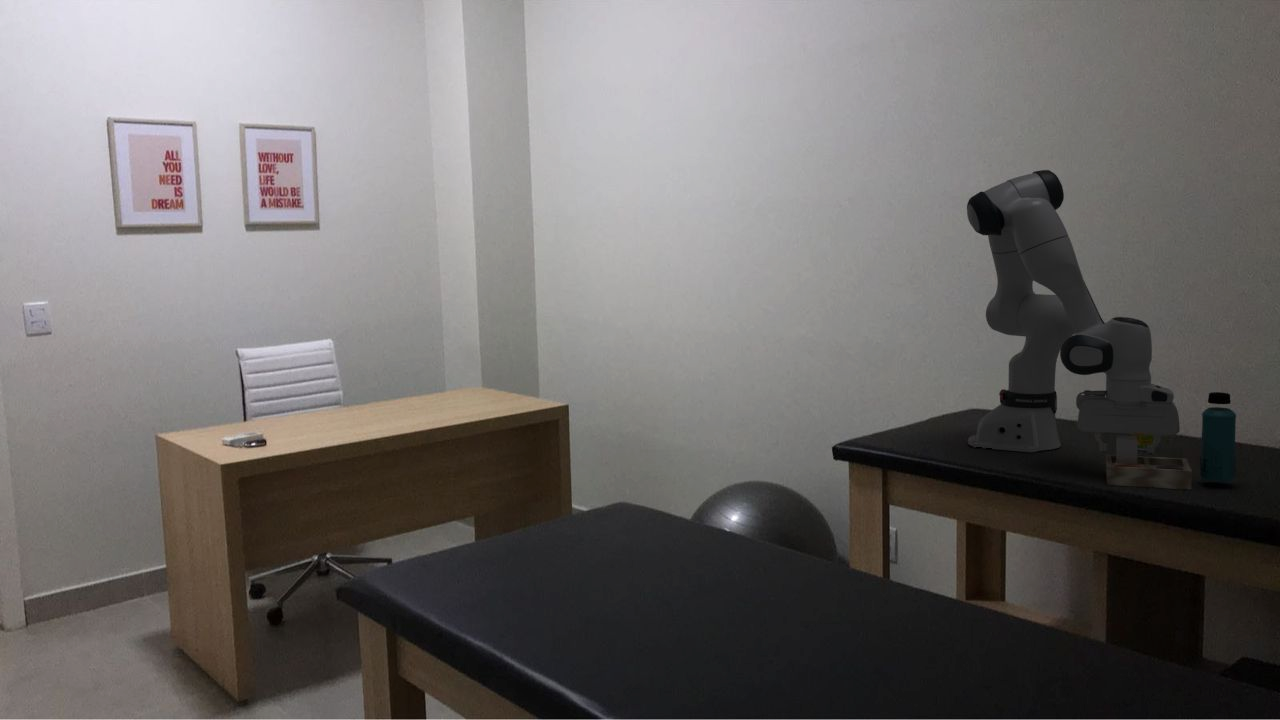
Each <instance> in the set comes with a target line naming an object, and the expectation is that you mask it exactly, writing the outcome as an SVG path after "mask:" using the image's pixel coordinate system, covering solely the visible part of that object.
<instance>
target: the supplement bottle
mask: <svg viewBox="0 0 1280 720" xmlns="http://www.w3.org/2000/svg"><path fill="white" fill-rule="evenodd" d="M1131 436H1134V437H1137V440H1138V442H1137V451H1141V452H1142V451H1143V452H1147V445H1151V444H1152V443H1153V442H1154V439H1153V435H1149V434H1131ZM1156 447H1157V446H1156ZM1156 447H1155V449H1156Z"/></svg>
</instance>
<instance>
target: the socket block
mask: <svg viewBox="0 0 1280 720" xmlns="http://www.w3.org/2000/svg"><path fill="white" fill-rule="evenodd" d="M1105 476H1106V485H1107V486H1122V487H1124V486H1125V487H1135V488H1136V487H1137V486H1138V488H1140V487H1141V488H1152V487H1153V489H1154V488H1157V489H1168V490H1169V489H1171V490H1173V489H1175V490H1185V489H1187V490H1188V491H1192V478H1193V471H1192V468H1191V466H1190V464H1189V462H1188V459H1187V458H1184V457H1183V458H1180V457H1179V458H1178V457H1161V456H1160V457H1159V456H1158V457H1157V456H1142V455H1141V456H1140V455H1139V456H1138V455H1137V464H1135V463H1116V454H1105ZM1187 490H1186V491H1187Z"/></svg>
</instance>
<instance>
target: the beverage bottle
mask: <svg viewBox="0 0 1280 720" xmlns="http://www.w3.org/2000/svg"><path fill="white" fill-rule="evenodd" d="M1207 398H1208V399H1207V403H1208V404H1213V405H1214V404H1215V405H1230V404H1231V394H1230V393H1229V392H1219V391H1218V392H1214V391H1213V392H1209V393H1208V397H1207ZM1201 416H1202V418H1201V420H1202V421H1201V423H1202V424H1201V436H1200V437H1201V438H1200V439H1201V444H1200V446H1201V447H1200V452H1199V453H1200V454H1201V455H1200V456H1199V461H1200V463H1199V466H1200V468H1199V470H1200V473H1199V475H1200V476H1201V479H1202V480H1205V481H1207V482H1208V481H1209V482H1215V483H1216V482H1217V483H1230V482H1233V481H1234V480H1235V473H1236V454H1237V452H1236V450H1237V449H1236V444H1237V443H1236V421H1237V420H1236V419H1237V414H1236V413H1235V412H1234V410H1233V409H1231V408H1228V407H1218V406H1217V407H1216V406H1214V407H1213V406H1211V407H1208V408H1206V409H1205V410H1204V411H1203V412H1201Z"/></svg>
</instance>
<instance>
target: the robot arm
mask: <svg viewBox="0 0 1280 720" xmlns="http://www.w3.org/2000/svg"><path fill="white" fill-rule="evenodd" d="M1064 199H1065V193H1064V188H1063V185H1062V182H1061V180H1060V178H1059V177H1058V175H1057V174H1056V173H1054V172H1053V171H1051V170H1050V169H1042V170H1035V171H1032V173H1028V174H1024V175H1020V176H1017V177H1014V178H1011V179H1008V180H1006V181H1004V182H1002V183H1000V184H997V185H994V186H992V187H991V188H988V189H986V190H985V191H980V192H977V193H976V194H974V195H973V196H971V197H970V198H969V199H968V202H967V203H966V212H967V213H966V214H967V219H968V222H969V224H970V226H971V227H972V229H973V230H974V231H975V232H976V233H977V234H980V235H982V236H987V237H988V243H989V248H990V251H991V255H992V259H993V260H992V261H993V263H994V268H995V273H996V278H997V279H996V280H997V285H996V286H997V287H996V292H995V294H994V296H993V297H992V299H990V301H989V303H988V304H987V306H986V311H985V319H986V323H987V325H988V326H989V328H990V329H992V330H993V331H995V332H998V333H1001V334H1004V335H1006V336H1013V337H1015V336H1016V337H1024V338H1025V341H1024V345H1023V347H1022V349H1021V351H1019V352H1017V353H1016V354H1014V355H1013V356H1012V357H1011V358H1010V360H1009V361H1008V389H1006V388H1005V389H1001V390H999V394H998V395H999V402H1000V403H999V405H997V406H996V407H994V408H993V409H992V410H990V411H989V412H988V413H986V414H984V415H983V416H982V417H981V419H980V420H979V422H978V425H977V428H976V434H973V435H970V436H969V437H968V439H967V444H969V445H971V446H973V447H972V448H976V447H982V448H981V449H986V448H992V449H991V450H998V451H1009V452H1011V451H1012V452H1021V453H1022V452H1023V453H1036V452H1039V451H1049V450H1055V449H1058V448H1060V447H1061V446H1062V444H1061V441H1060V437H1059V433H1058V428H1057V427H1058V426H1057V420H1056V418H1057V417H1056V414H1057V410H1058V395H1057V391H1056V390H1055V389H1056V388H1055V387H1056V367H1057V362H1058V357H1059V356H1060V361H1061V363H1062V364H1063V366H1064V368H1065V369H1067V371H1069V372H1071V373H1072V374H1075V375H1080V376H1089V375H1094V374H1100V373H1103V374H1105V377H1106V379H1105V380H1106V382H1105V390H1089V389H1088V390H1087V389H1086V390H1083V391H1081V392H1079V393H1078V394H1077V395H1076V397H1075V398H1076V400H1075V402H1076V403H1075V404H1076V405H1075V406H1076V408H1077V409H1078V414H1077V415H1078V416H1077V425H1076V426H1077V429H1078V430H1079V432H1083V433H1094V439H1095V440H1096V442H1097V443H1098V445H1099V453H1107V452H1108V443H1105V442H1103V441H1102V433H1104V434H1106V433H1107V434H1109V433H1110V434H1124V435H1125V434H1126V435H1127V434H1130V435H1132V434H1149V435H1153V439H1154V442H1153V443H1152V444H1151V445H1147V451H1146V455H1149V456H1150V455H1151V456H1152V455H1153V456H1155V454H1156V453H1155V452H1156V448H1155V447H1157V446H1158V445H1159V443H1160V442H1161V439H1162V437H1161V436H1177V435H1178V433H1180V418H1179V417H1180V416H1179V411H1178V409H1177V405H1176V404H1175V403H1174V402H1173V401H1174V398H1175V395H1174V391H1173V390H1171V389H1169V388H1167V387H1164V386H1160V385H1157V384H1154V383H1152V375H1151V372H1150V365H1151V362H1152V355H1153V354H1152V353H1153V349H1152V348H1153V347H1152V334H1151V329H1150V326H1149V325H1148V324H1147V323H1146V322H1144V321H1143V320H1140V319H1136V318H1133V317H1126V316H1125V317H1124V316H1115V317H1112V318H1111V319H1109V320H1108V321H1106V322H1105V321H1104V320H1103V318H1102V317H1101V314H1100V313H1099V310H1098V308H1097V306H1096V304H1095V302H1094V299H1093V297H1092V295H1091V293H1090V291H1089V288H1088V286H1087V284H1086V282H1085V280H1084V277H1083V274H1082V272H1081V269H1080V266H1079V262H1078V259H1077V254H1076V253H1075V250H1074V246H1073V244H1072V241H1071V239H1070V236H1069V233H1068V231H1067V229H1066V227H1065V225H1064V222H1063V221H1062V219H1061V217H1060V216H1059V214H1058V212H1057V210H1058V209H1059V208H1061V206H1062V204H1063V202H1064ZM1034 282H1035V283H1037V284H1039V285H1041V286H1042V287H1045V288H1046V289H1048V290H1050V291H1051V292H1052V293H1053V294H1041V293H1039V294H1038V293H1035V291H1034V288H1033V287H1034V286H1033V283H1034ZM969 445H968V446H969ZM971 446H970V447H971Z"/></svg>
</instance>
